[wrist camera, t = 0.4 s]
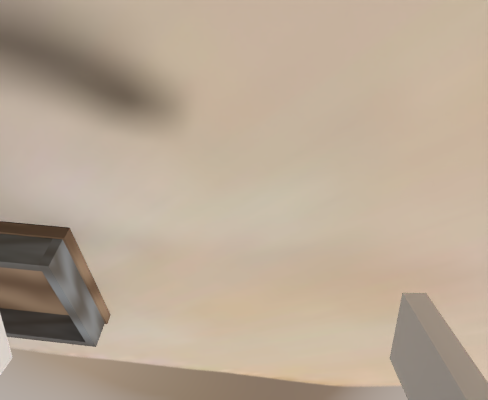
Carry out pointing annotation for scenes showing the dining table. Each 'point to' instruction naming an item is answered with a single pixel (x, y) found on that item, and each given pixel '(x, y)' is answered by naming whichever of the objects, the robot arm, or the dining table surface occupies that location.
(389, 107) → the dining table surface
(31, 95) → the dining table surface
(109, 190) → the dining table surface
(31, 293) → the dark gray tray
